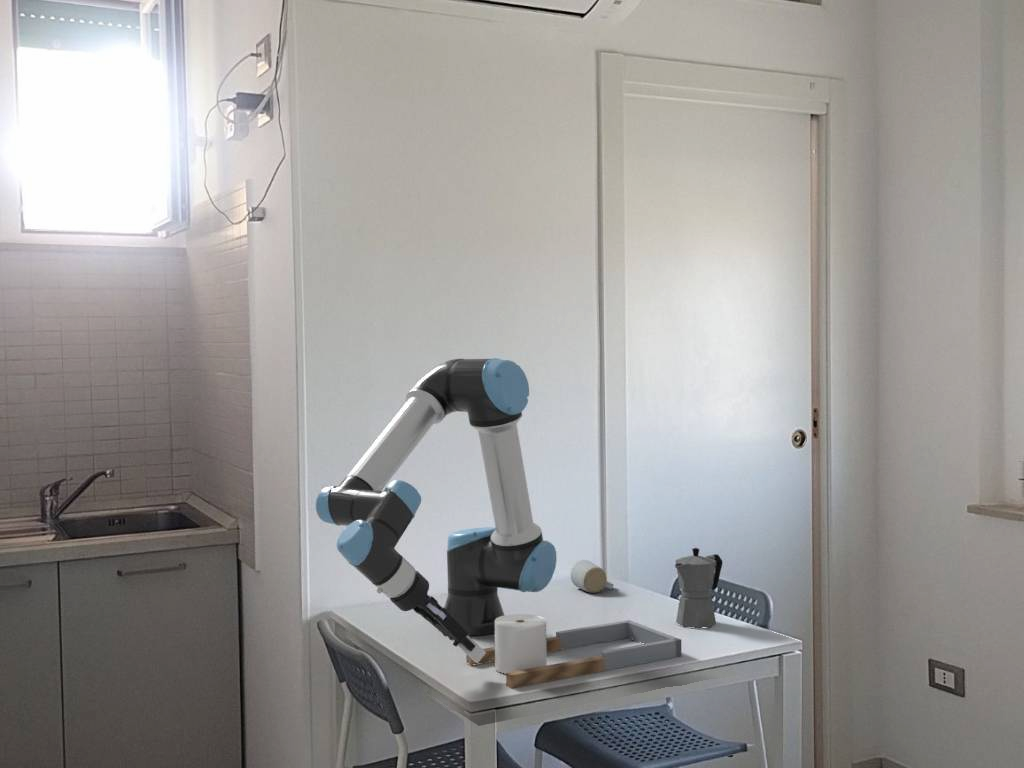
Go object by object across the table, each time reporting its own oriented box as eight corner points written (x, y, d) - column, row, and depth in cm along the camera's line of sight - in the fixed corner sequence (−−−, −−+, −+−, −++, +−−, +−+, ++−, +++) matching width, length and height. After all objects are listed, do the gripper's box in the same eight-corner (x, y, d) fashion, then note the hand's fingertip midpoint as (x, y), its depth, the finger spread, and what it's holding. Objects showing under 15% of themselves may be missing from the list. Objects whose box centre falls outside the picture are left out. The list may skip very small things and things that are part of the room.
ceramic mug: (584, 595, 290) (584, 566, 290) (569, 589, 298) (570, 560, 297) (619, 592, 295) (619, 563, 294) (604, 585, 302) (604, 557, 302)
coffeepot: (691, 632, 253) (690, 554, 252) (661, 624, 261) (661, 548, 260) (736, 621, 263) (736, 546, 262) (706, 614, 270) (706, 540, 269)
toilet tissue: (530, 658, 235) (530, 611, 234) (559, 673, 224) (559, 624, 224) (485, 665, 230) (485, 617, 229) (513, 681, 219) (512, 631, 219)
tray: (605, 670, 225) (605, 653, 225) (556, 647, 242) (555, 632, 242) (681, 656, 235) (681, 639, 235) (629, 635, 252) (629, 620, 251)
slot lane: (511, 688, 215) (511, 675, 214) (466, 663, 231) (466, 651, 231) (605, 670, 225) (605, 658, 225) (556, 647, 242) (556, 636, 242)
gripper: (376, 592, 217) (453, 663, 226) (403, 606, 206) (483, 680, 215) (401, 563, 220) (476, 634, 229) (429, 575, 208) (507, 649, 217)
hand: (480, 656), depth 222 cm, fingers closed
